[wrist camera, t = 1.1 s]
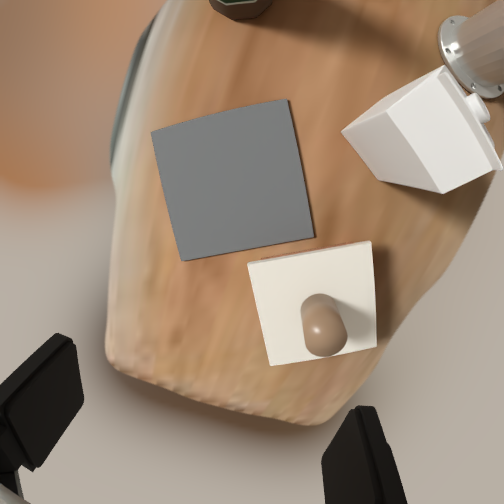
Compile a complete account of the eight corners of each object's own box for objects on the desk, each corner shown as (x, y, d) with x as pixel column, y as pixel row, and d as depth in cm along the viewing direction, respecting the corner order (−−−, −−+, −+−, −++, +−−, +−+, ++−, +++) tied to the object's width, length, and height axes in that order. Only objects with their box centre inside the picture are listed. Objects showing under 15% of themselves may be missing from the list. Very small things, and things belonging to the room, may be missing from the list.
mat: (286, 99, 31) (286, 98, 31) (313, 236, 35) (313, 237, 35) (152, 132, 33) (150, 132, 33) (182, 260, 37) (181, 261, 37)
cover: (368, 240, 31) (391, 260, 24) (374, 343, 34) (391, 376, 28) (248, 262, 32) (241, 287, 26) (270, 362, 36) (268, 399, 29)
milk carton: (377, 180, 33) (472, 202, 15) (339, 131, 32) (409, 100, 13) (418, 146, 31) (526, 142, 13) (382, 98, 30) (473, 50, 12)
